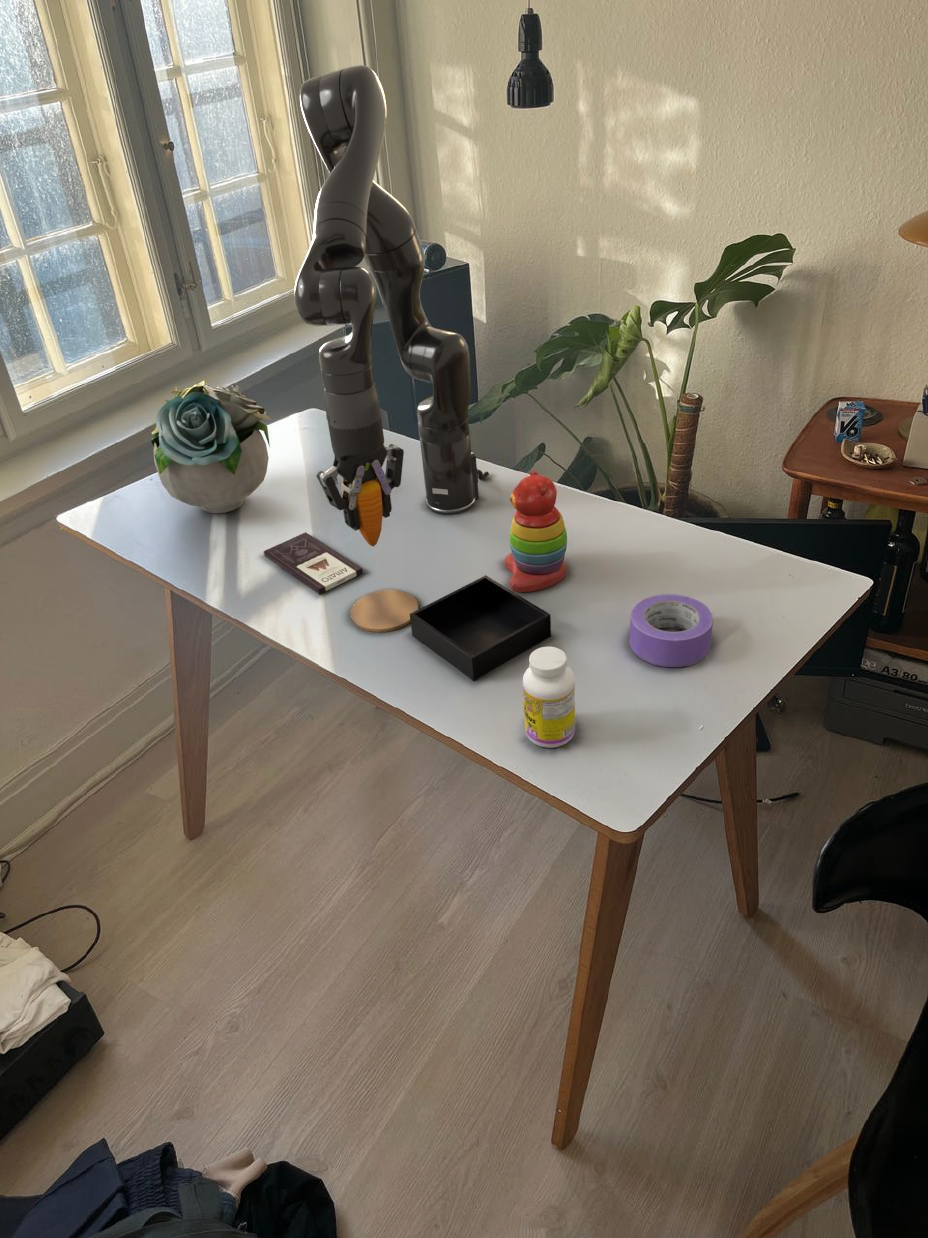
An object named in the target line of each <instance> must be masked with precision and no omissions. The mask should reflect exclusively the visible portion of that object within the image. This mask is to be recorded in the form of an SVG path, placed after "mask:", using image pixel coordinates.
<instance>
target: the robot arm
mask: <svg viewBox="0 0 928 1238" xmlns="http://www.w3.org/2000/svg"><path fill="white" fill-rule="evenodd" d="M299 103H300V108H301V109H300V110H301V112H302V116H303V119H304V122H305V125H306V127H307V130H308V133H309V134H310V137H311V139H312V141H313V143H314V145H315V148H316V150H317V152H318V154H319V156H320V158H321V160H322V162H323V164H324V166H325V168H326V170H327V172H328V176H327V178H326V179H325V181H324V182H323V184H322V186H321V188H320V191H319V192H318V195H317V199H316V202H315V208H314V216H313V228H312V229H313V230H312V239H311V244H310V246H309V249H308V251H307V254H306V256H305V258H304V261H303V263H302V265H301V268H300V269H299V272H298V275H297V277H296V280H295V285H294V290H293V291H294V292H293V301H294V307H295V310H296V312H297V315H298V316H299V318H300V319H301V320H302V321H303V322H304V323H306V324H307V325H309V326H311V327H312V326H313V327H328V326H330V327H331V326H345V325H347V326H348V325H351V328H352V329H351V332H350V333H349V334H347V335H344V336H341V337H338V338H334V339H332V340H329V341H327V342H325V343H323V344H322V345H321V346H320V347H319V351H318V361H319V366H320V373H321V379H322V385H323V392H324V407H325V418H326V420H327V425H328V433H329V438H330V443H331V449H332V452H333V456H334V459H333V462H332V467H330V468H329V469H328V470H326V471H323V470H320V471H318V472H317V473H316V478H317V480H318V483H319V484H320V486H321V488H322V490H323V492H324V494H325V497H326V499H327V501H328V503H329V504H330V505H331V506H332V507H333V508H335V509H337V510H339V511H343V516H344V523H345V525H346V526H348V528H350V529H352V530H353V531H356V532H357V531H359V529H360V523H359V516H358V510H357V508H356V502H357V495H359V494H360V489H361V485H362V484H364V483H366V482H367V481H371V480H375V479H376V478H377V481H378V482H379V483H380V487H381V495H382V518H384V519H386V518H389V517H390V516H391V513H392V510H393V507H392V498H391V494H392V490H394V488H399V487H400V486H401V484H402V475H403V474H402V473H403V466H404V465H403V463H404V453H405V451H404V448H401V447H400V446H398V445H395V444H393V443H390V444H388V446H385V436H384V435H385V434H384V429H383V421H382V411H381V406H380V405H381V404H380V399H379V393H378V390H377V387H376V382H375V381H376V379H375V374H374V367H373V358H372V335H373V334H372V333H373V325H374V319H375V313H376V307H377V297H378V295H379V297H380V299H381V303H382V305H383V308H384V310H385V313H386V314H387V315H386V316H387V318H388V321H389V325H390V328H391V331H392V335H393V339H394V342H395V345H396V350H397V353H398V356H399V359H400V362H401V364H402V365H401V366H402V367H403V369H404V371H405V372H406V373H407V374H408V375H409V376H410V377H411V378H412V379H414V380H417V381H420V382H424V383H427V384H431V385H432V396H429V397H427V398H425V399H423V400H421V402H419V403H418V405H417V407H416V418H417V425H418V436H419V444H420V451H421V462H422V469H423V470H422V471H423V479H424V489H425V502H426V503H425V504H426V507H427V509H429V511H432V512H434V513H438V514H443V515H445V514H446V515H451V514H458V513H462V512H465V511H467V510H469V509H471V508H472V507H474V505H475V503H476V502H477V501H478V500H479V499H480V493H479V481H483V480H485V479H486V478H487V477H489V476H490V472H488V471H487V470H486V471H485V472H483V471H482V470H481V469H479V468H478V467H477V455H476V454H475V452H473V451H472V445H471V433H470V432H471V431H470V421H469V407H470V403H471V397H472V388H471V387H472V384H471V383H472V381H471V355H470V354H471V353H470V350H469V345H468V343H467V341H466V339H465V338H464V337H463V335H461V334H459V333H457V332H453V331H448V330H444V329H439V328H435V327H433V326H432V325H431V324H430V322H429V319H428V317H427V315H426V313H425V311H424V308H423V304H422V301H421V289H422V288H421V287H422V283H423V280H424V274H425V266H426V256H425V251H424V248H423V247H424V246H423V244H422V242H421V239H420V236H419V233H418V230H417V228H416V225H415V222H414V219H413V217H412V215H411V214H410V213H409V211H408V210H407V208H406V207H405V206H404V205H403V204H402V203H401V202H400V201H399V200H398V199H397V198H396V197H394V196H393V195H392V194H391V193H389V192H388V191H387V190H386V189H384V188H383V187H382V186H381V185H380V184H379V183H377V182H376V181H375V180H374V178H375V176H376V172H377V168H378V163H379V159H380V155H381V152H382V151H381V150H382V147H383V142H384V138H385V133H386V129H387V128H386V127H387V116H388V113H387V104H386V103H387V102H386V96H385V92H384V89H383V86H382V83H381V81H380V80H379V77H378V75H377V74H376V72H375V71H374V70H373V69H372V68H371V67H369V66H368V65H364V64H359V65H354V66H348V67H344V68H340V69H338V70H334V71H330V72H327V73H323V74H320V75H318V76H314V77H311V78H309V79H307V80H305V81H303V83H302V84H301V86H300V89H299ZM363 260H365V263H366V265H367V268H368V270H369V271H368V270H367V269H365V268H363V267H361V266H359V265H360V264H361V263H362V262H363ZM385 461H386V465H385V472H384V470H383V465H384V463H385ZM366 463H369V469H368V470H367V471H366V470H365V467H366ZM338 476H340V477H341V479H340V489H341V492H340V490H339V489H338V487H337V485H338V483H339V481H338ZM350 483H351V484H352V486H351V484H350Z"/></svg>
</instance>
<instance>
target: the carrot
mask: <svg viewBox="0 0 928 1238" xmlns="http://www.w3.org/2000/svg"><path fill="white" fill-rule="evenodd" d="M368 469H369V463H366V467H365V470H366V471H367V470H368ZM350 484H351V483H350ZM351 486H352V484H351ZM356 508H357V510H358V516H359V523H360V529H359V530H358V531H359V533H360V534H361V536H362V538H363V539H364V541H366V543H367V544H368V545H369V546H371V547H373V548H374V547H375V546H376V545H377V544H378V541H379V539H380V538H381V537H380V536H381V533H382V530H383V529H382V527H383V516H382V495H381V487H380V483H379V482H378V481H377V478H376V479H375V480H371V481H367V482H366V483H364V484H362V485H361V489H360V494H359V495H357V502H356Z"/></svg>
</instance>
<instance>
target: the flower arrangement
mask: <svg viewBox="0 0 928 1238" xmlns="http://www.w3.org/2000/svg"><path fill="white" fill-rule="evenodd" d="M231 388H232V390H231V389H229V387H228V386H226V385H225V387H224V386H216V387H215V388H213V387H212V386H210V385H208V380H207V378H204V380H201V382H198V383H197V384H193V386H190V387H186V388H184V389H183V390H179V389H178V388H177V387H175V390H172V391H170V393H171V394H173V395H174V398H171V399H170V400H168V399H166V400H164V401H165V402H166V403H165V404H164V405H163V406H162V407H160V409H159V410H158V412H157V414H156V417H155V423H156V424H155V425H156V426H155V428H154V430H153V431H152V432H151V435H153V436H152V438H151V440H150V441H151V444H152V446H153V462H154V465H155V468H156V472H157V475H158V477H159V480H160V482H161V485H162V486H163V488H164V489H165V490H166V491H167V493H168V494H169V495H170V497H172V498H174V499H175V500H177V501H180V502H181V503H184V504H186V505H188V506H191V507H197V508H198V507H199V508H201V510H203V511H205V512H206V513H209V514H225V513H228V512H233V511H234V510H235V511H236V510H237V509H238V508H241V506H242V505H243V504H244V503H245V501H246V498H248V497H249V496H251V494H252V493H254V492H255V491H256V490H257V489H258V488H259V487H260V485H262V483H263V482H264V481H265V478H266V475H267V472H268V465H269V458H270V457H269V453H268V448H267V444H268V447H269V448H271V445H270V437H269V429H268V425H267V424H264V423H263V422H262V421H261V420H266V421H272V419H271V417H270V416H269V414H268V413H267V412H266V411H265V408H264V407H262V406H260V405H257V402H256V401H255V400H253V399H250V398H248V397H247V396H246V395H244V394H242V393H243V391H242V389H241V387H240V385H238V384H236V383H235V384H234V385H233V384H231ZM261 431H262V432H263V433H264V436H265V438H264V436H263V435H262V434H263V433H262V432H261ZM265 439H266V441H267V443H266V441H265Z"/></svg>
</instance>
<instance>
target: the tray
mask: <svg viewBox="0 0 928 1238" xmlns="http://www.w3.org/2000/svg"><path fill="white" fill-rule="evenodd" d="M551 618H552V616H551V613H549V612H547V611H545V609H543V608H541V607H539V606H537V605H536V604H534V603H533V602H531V601H529V600H527V599H526V598H525V597H523V596H522V595H520V594H518V593H516V592H514V590H512V589H510V588H508V587H506V586H505V585H504V584H501V583H500V582H498V581H497V580H495V579H493V578H491V577H489V576H488V575H486V574H485V575H484V576H481V577H480V578H477V579H475V580H473V581H471V582H469V583H468V584H465V585H463V586H462V587H460V588H457V589H456V590H454V591H452V592H450V593H448V594H445V595H443V596H442V597H440V598H438V599H436V600H434V601H432V602H430V603H427V604H426V605H424V606H422V607H419V609H418V610H416V611H414V612H413V613H410V621H411V622H410V628H411V635H412V637H413V638H414V639H416V640H417V641H418V642H419V643H421V644H423V645H424V646H425V647H427V648H428V649H429V650H431V652H433V653H435V655H436V654H437V655H438V656H439V657H440V658H441V659H443V660H444V661H446V663H448V664H450V665H451V666H452V667H454V668H455V669H457V670H458V671H459V672H460V673H462V674H463V675H465V676H466V677H468V678H469V679H470V680H471V681H473V682H475V681H477V680H479V679H481V678H482V677H484V676H486V675H487V674H490V673H491V672H493V671H494V670H496V669H498V668H499V667H501V666H503V665H505V664H507V663H508V662H510V661H512V660H513V659H515V658H517V657H519V656H520V655H523V654H524V653H526V652H527V651H529V650H531V649H532V648H534V647H537V646H538V645H539V644H541V643H543V642H545V641H546V640H549V639H550V638H552V619H551Z"/></svg>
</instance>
